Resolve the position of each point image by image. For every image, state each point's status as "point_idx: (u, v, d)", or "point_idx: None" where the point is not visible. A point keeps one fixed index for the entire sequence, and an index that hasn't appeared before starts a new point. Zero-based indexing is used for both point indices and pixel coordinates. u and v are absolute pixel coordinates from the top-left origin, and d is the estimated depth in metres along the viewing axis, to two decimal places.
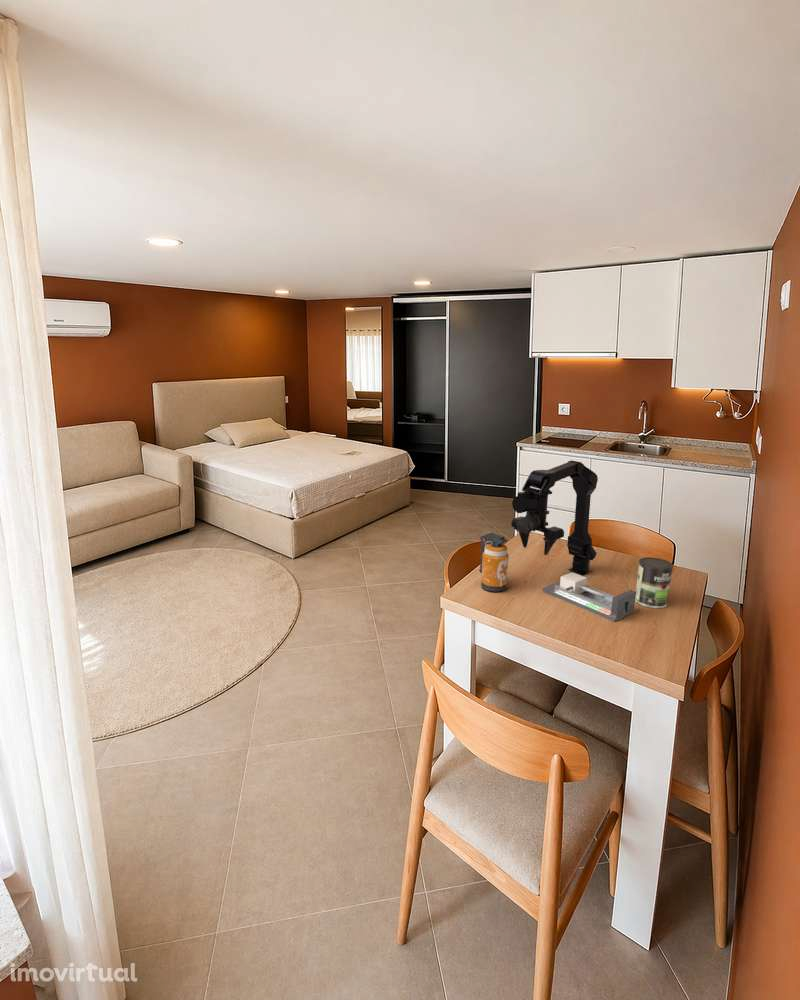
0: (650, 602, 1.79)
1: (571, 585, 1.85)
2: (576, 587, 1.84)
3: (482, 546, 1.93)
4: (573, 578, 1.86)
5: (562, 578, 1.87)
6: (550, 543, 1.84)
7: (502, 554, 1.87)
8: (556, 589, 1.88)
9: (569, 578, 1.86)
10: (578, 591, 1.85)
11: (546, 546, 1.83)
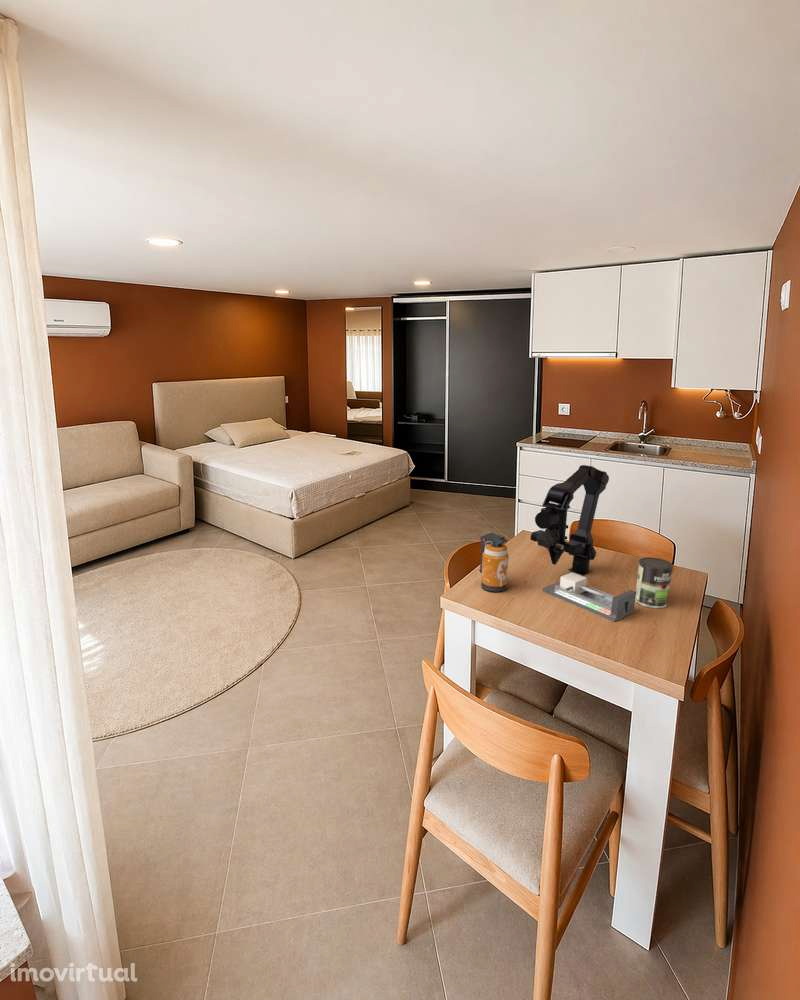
0: (650, 602, 1.79)
1: (571, 585, 1.85)
2: (576, 587, 1.84)
3: (482, 546, 1.93)
4: (573, 578, 1.86)
5: (562, 578, 1.87)
6: (559, 553, 1.91)
7: (502, 554, 1.87)
8: (556, 589, 1.88)
9: (569, 578, 1.86)
10: (578, 591, 1.85)
11: (555, 556, 1.91)
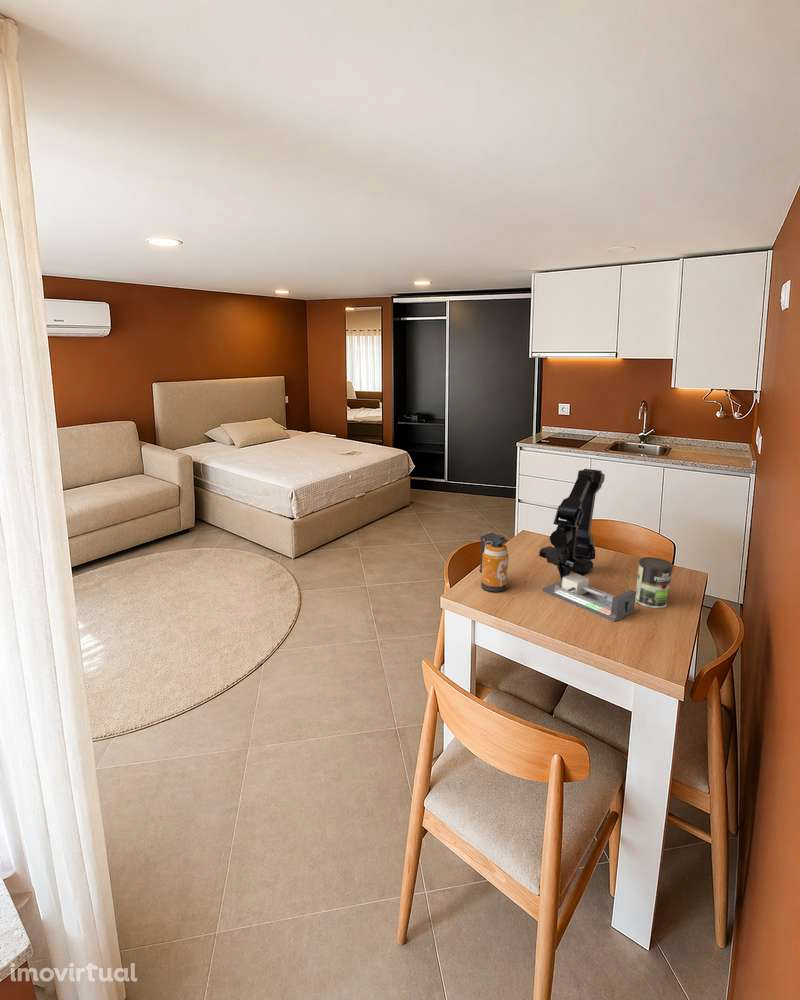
0: (650, 602, 1.79)
1: (573, 586, 1.84)
2: (578, 588, 1.84)
3: (482, 546, 1.93)
4: (575, 579, 1.85)
5: (564, 579, 1.87)
6: (568, 570, 1.89)
7: (502, 554, 1.87)
8: (556, 589, 1.88)
9: (571, 579, 1.86)
10: (580, 592, 1.85)
11: (564, 573, 1.89)
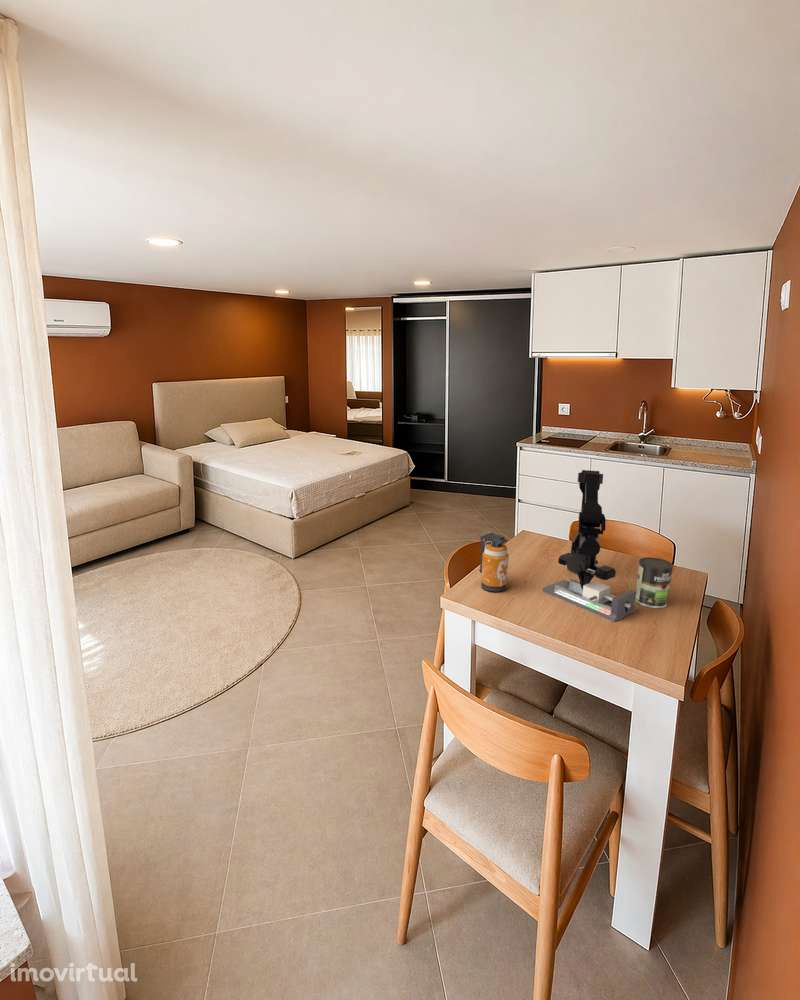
0: (650, 602, 1.79)
1: (595, 594, 1.77)
2: (600, 597, 1.77)
3: (482, 546, 1.93)
4: (597, 587, 1.79)
5: (585, 587, 1.80)
6: (589, 578, 1.83)
7: (502, 554, 1.87)
8: (556, 589, 1.88)
9: (592, 587, 1.79)
10: (602, 601, 1.78)
11: (585, 581, 1.82)
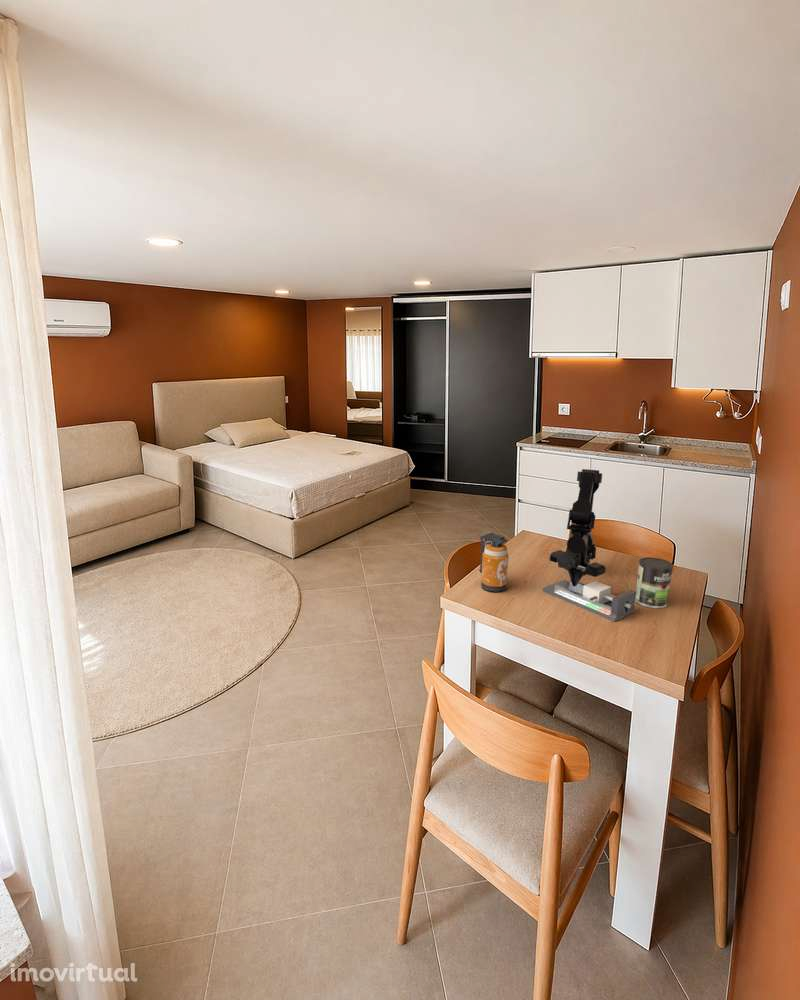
0: (650, 602, 1.79)
1: (595, 595, 1.77)
2: (600, 597, 1.77)
3: (482, 546, 1.93)
4: (597, 587, 1.79)
5: (585, 587, 1.80)
6: (579, 575, 1.86)
7: (502, 554, 1.87)
8: (556, 589, 1.88)
9: (592, 587, 1.79)
10: (602, 601, 1.78)
11: (576, 578, 1.85)
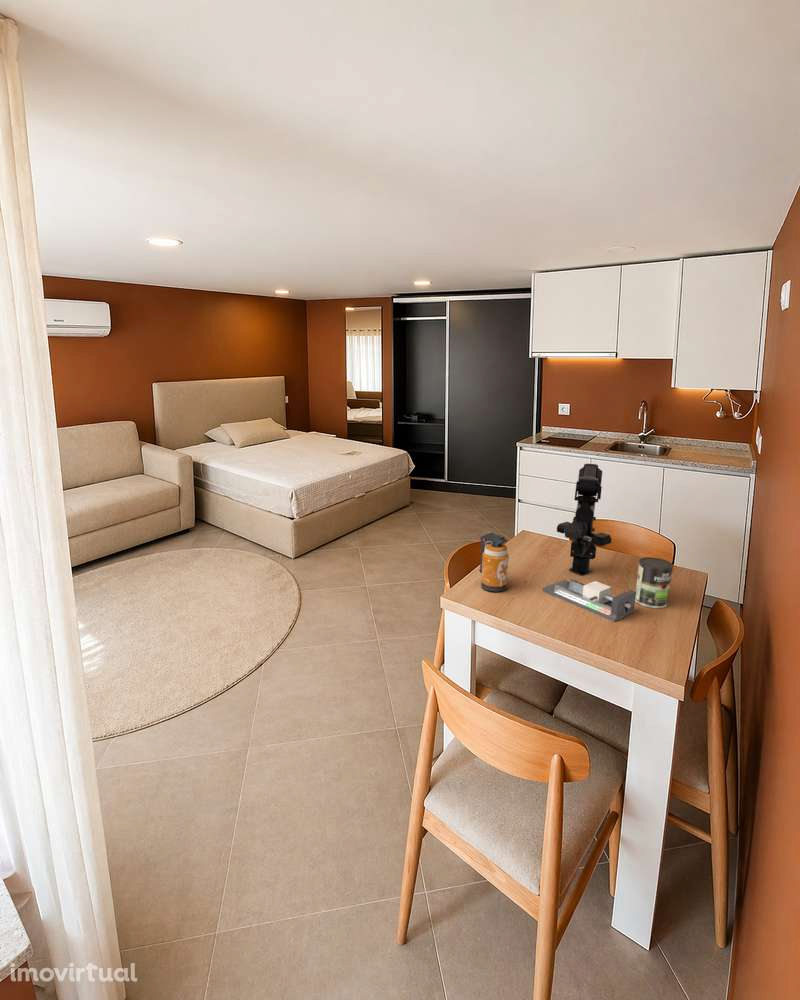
0: (650, 602, 1.79)
1: (595, 595, 1.77)
2: (600, 597, 1.77)
3: (482, 546, 1.93)
4: (597, 587, 1.79)
5: (585, 587, 1.80)
6: (586, 545, 1.90)
7: (502, 554, 1.87)
8: (556, 589, 1.88)
9: (592, 587, 1.79)
10: (602, 601, 1.78)
11: (582, 548, 1.90)
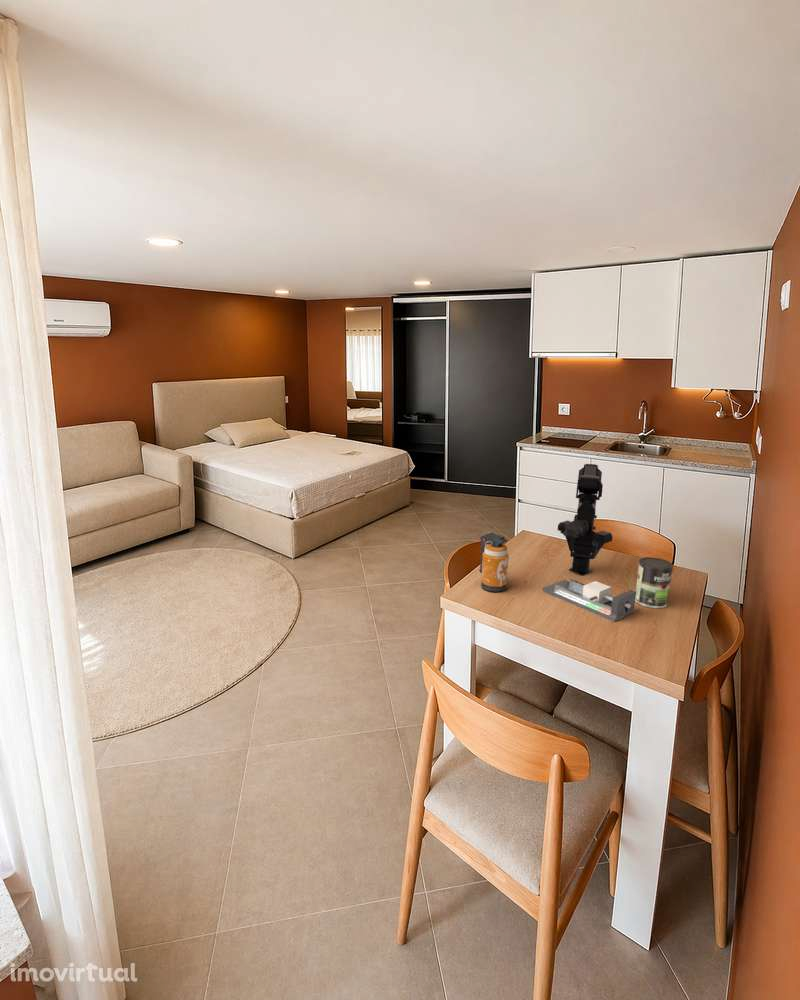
0: (650, 602, 1.79)
1: (595, 595, 1.77)
2: (600, 597, 1.77)
3: (482, 546, 1.93)
4: (597, 587, 1.79)
5: (585, 587, 1.80)
6: (598, 547, 1.87)
7: (502, 554, 1.87)
8: (556, 589, 1.88)
9: (592, 587, 1.79)
10: (602, 601, 1.78)
11: (594, 550, 1.87)
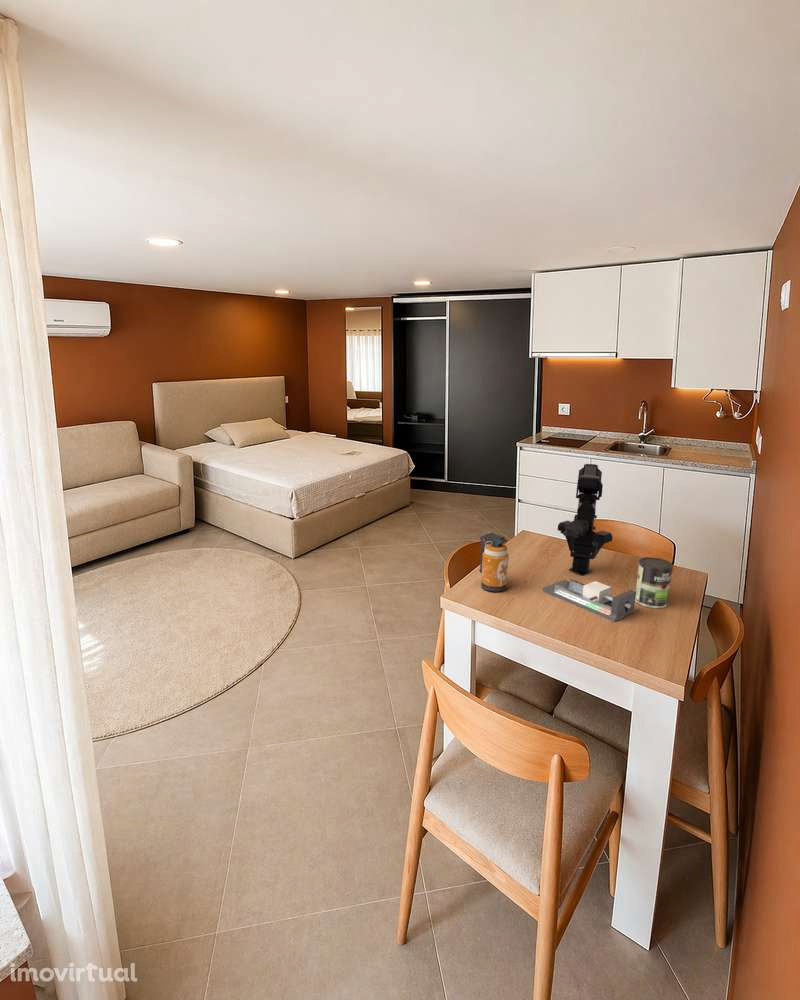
0: (650, 602, 1.79)
1: (595, 595, 1.77)
2: (600, 597, 1.77)
3: (482, 546, 1.93)
4: (597, 587, 1.79)
5: (585, 587, 1.80)
6: (598, 547, 1.87)
7: (502, 554, 1.87)
8: (556, 589, 1.88)
9: (592, 587, 1.79)
10: (602, 601, 1.78)
11: (594, 550, 1.87)
